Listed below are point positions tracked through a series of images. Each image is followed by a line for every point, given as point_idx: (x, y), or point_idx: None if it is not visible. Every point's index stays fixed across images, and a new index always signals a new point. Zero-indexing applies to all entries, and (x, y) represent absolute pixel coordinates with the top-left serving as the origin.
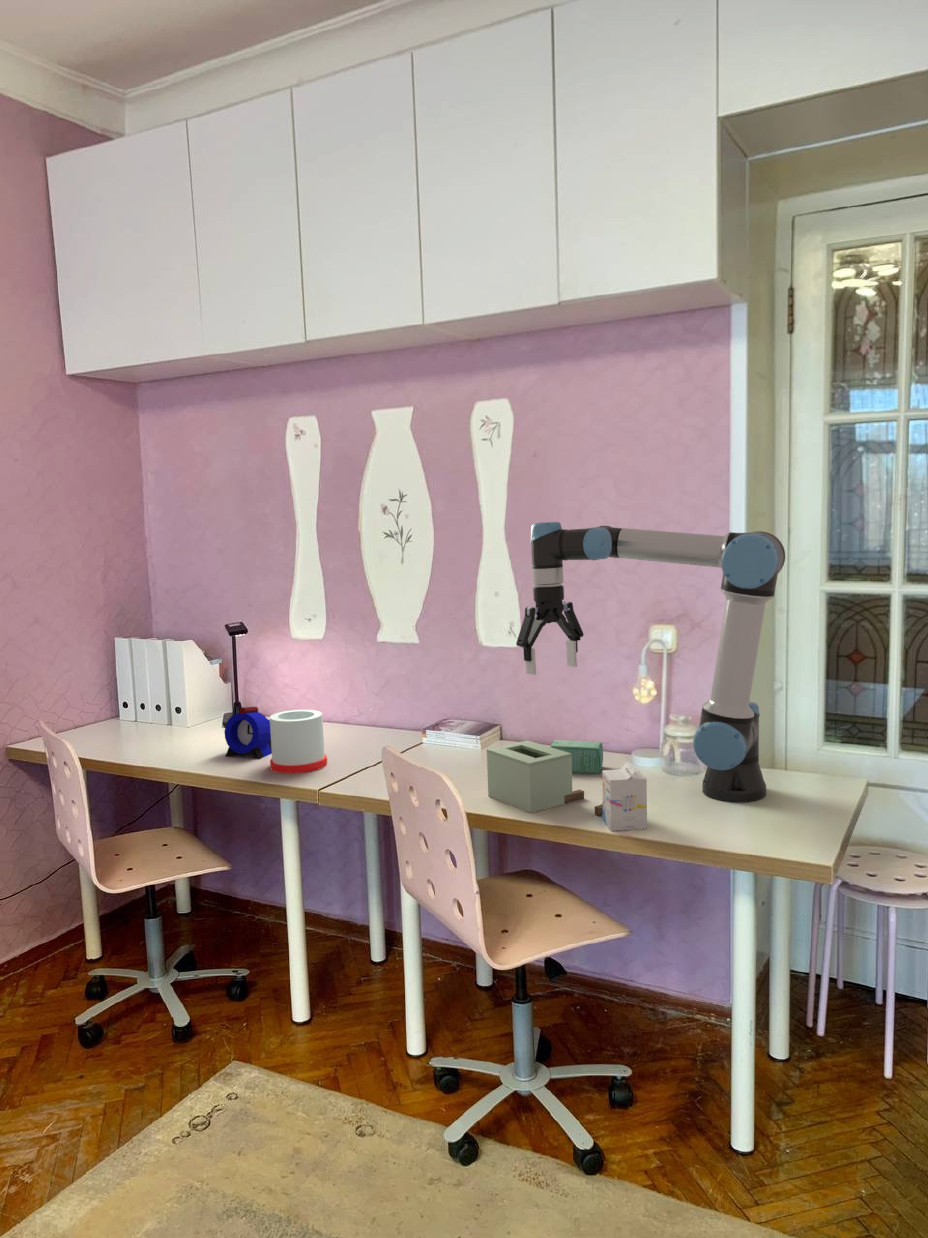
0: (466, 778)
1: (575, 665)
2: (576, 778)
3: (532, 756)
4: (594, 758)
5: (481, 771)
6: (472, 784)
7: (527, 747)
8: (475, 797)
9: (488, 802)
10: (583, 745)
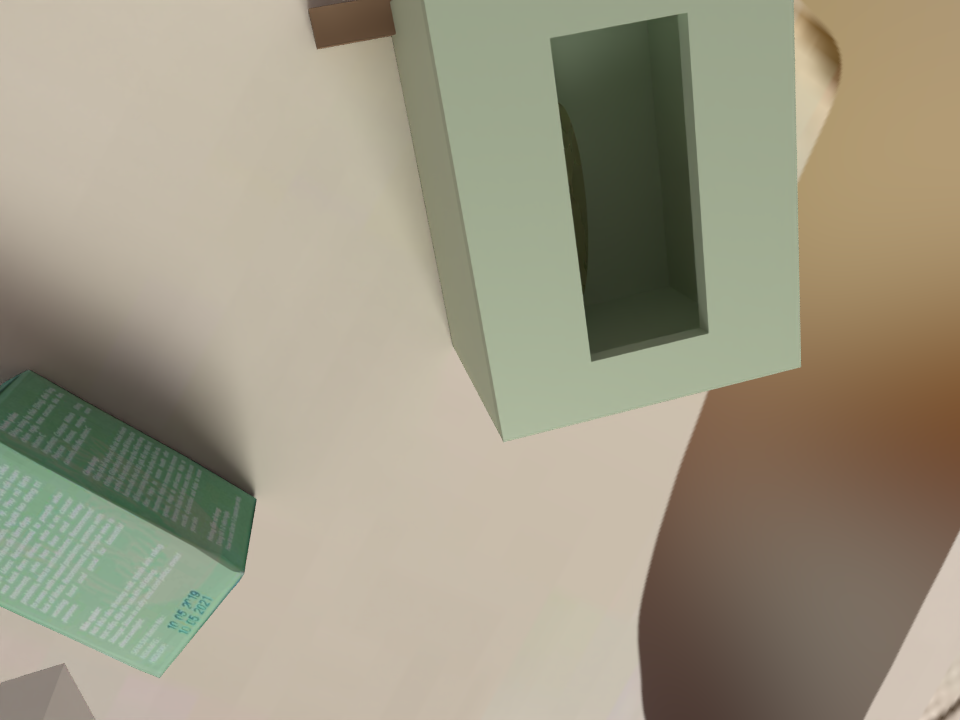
0: (629, 551)
1: (30, 691)
2: (181, 352)
3: None
4: (21, 414)
5: (531, 615)
6: (649, 469)
7: (582, 303)
8: None
9: None
10: (46, 512)
